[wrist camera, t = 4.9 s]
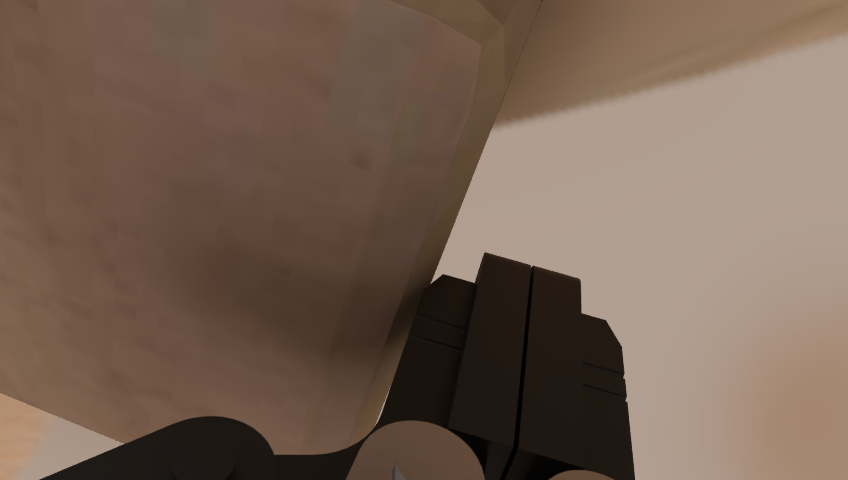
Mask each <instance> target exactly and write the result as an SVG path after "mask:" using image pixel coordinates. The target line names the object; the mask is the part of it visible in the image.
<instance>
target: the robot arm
mask: <svg viewBox="0 0 848 480" xmlns="http://www.w3.org/2000/svg"><path fill="white" fill-rule="evenodd" d="M623 376H624V364H623V354H622V346H621V345H620V343H619V341H618V340H617V338H616V336H615V335H614V333H613V331H612V330H611V328H610V326H609V325H608V323H607V321H606V320H603V319H600V318H596V317H592V316H589V315H585V314H582V313H581V281H580V279H578V278H575V277H571V276H568V275H564V274H561V273H557V272H554V271H550V270H547V269H543V268H540V267H536V266H532V267H531V266H530V265H528V264H525V263H521V262H518V261H514V260H511V259H507V258H504V257H500V256H496V255H493V254H489V253H486V252H485V253H484V256H483V258H482V261H481V264H480V268H479V271H478V274H477V277H476V281H475V283H472V282H469V281H465V280H462V279H458V278H455V277H451V276H448V275H444V274H443V275H442V276H440V277H439V278H438V279H437V280H435V281H434V282H433V283H432V284H430V285H429V286H428V287H427V288H425V289H424V290H423V292H422V295H421V298H420V301H419V304H418V307H417V310H416V313H415V317H414V319H413V322H412V325H411V328H410V331H409V334H408V338H407V340H406V343H405V346H404V349H403V352H402V355H401V358H400V361H399V364H398V367H397V370H396V373H395V376H394V378H393V381H392V384H391V387H390V390H389V394H388V396H387V399H386V402H385V405H384V408H383V411H382V414H381V416H380V419H379V421H378V423H377V424H376V425H375V427H374V428H373V430H372V431H371V432H370V433H369V434H368V435H367V436H366V437H364V438H363V439H362V440H360V441H359V442H357V443H356V444H354V445H352V446H350V447H348V448H345V449H342V450H339V451H336V452H331V453H326V454H315V455H274V453H273V450H272V448H271V447H270V445H269V443H268V441H267V440H266V439H265V438H264V437H263V436H262V435H261V434H260V433H259V432H258V431H257V430H255V429H254V428H253V427H251V426H249V425H247V424H245V423H243V422H241V421H238V420H235V419H231V418H226V417H220V416H202V417H195V418H190V419H185V420H182V421H179V422H177V423H174V424H171V425H169V426H167V427H164V428H162V429H159V430H157V431H155V432H152V433H150V434H147V435H145V436H143V437H140V438H138V439H136V440H133V441H131V442H128V443H126V444H124V445H121V446H119V447H117V448H114V449H112V450H109V451H107V452H104V453H102V454H100V455H97V456H95V457H93V458H90V459H88V460H85V461H83V462H81V463H78V464H76V465H74V466H71V467H69V468H66V469H64V470H62V471H59V472H57V473H54V474H52V475H50V476H47V477H45V478H42V479H40V480H635V473H634V464H633V453H632V443H631V434H630V424H629V414H628V404H627V402H626V401H625V400H626V397H627V394H626V384H625V379H623Z"/></svg>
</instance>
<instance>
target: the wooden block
mask: <svg viewBox="0 0 848 480" xmlns="http://www.w3.org/2000/svg"><path fill="white" fill-rule="evenodd" d="M541 1H542V0H0V393H2V394H4V395H7V396H9V397H12V398H14V399H17V400H19V401H21V402H24V403H26V404H29V405H31V406H34V407H36V408H39V409H41V410H43V411H46V412H48V413H51V414H53V415H56V416H58V417H60V418H63V419H65V420H68V421H70V422H73V423H75V424H78V425H80V426H83V427H85V428H87V429H90V430H92V431H95V432H97V433H99V434H102V435H104V436H107V437H109V438H112V439H114V440H117V441H119V442H122V443H124V444H126V443H128V442H131V441H133V440H136V439H138V438H140V437H143V436H145V435H147V434H150V433H152V432H155V431H157V430H159V429H162V428H164V427H167V426H169V425H171V424H174V423H177V422H179V421H182V420H185V419H190V418H195V417H202V416H220V417H226V418H231V419H235V420H238V421H241V422H243V423H245V424H247V425H249V426H251V427H253V428H254V429H255V430H257V431H258V432H259V433H260V434H261V435H262V436H263V437H264V438H265V439H266V440H267V441H268V443H269V445H270V447H271V448H272V450H273V453H274V455H315V454H326V453H331V452H336V451H339V450H342V449H345V448H348V447H350V446H352V445H354V444H356V443H357V442H359V441H360V440H362V439H363V438H364V437H366V436H367V435H368V434H369V433H370V432H371V431H372V430H373V428H374V427H375V424H376V422H377V419H378V416H379V414H380V412H381V409H382V406H383V404H384V401H385V399H386V396H387V394H388V391H389V388H390V386H391V383H392V381H393V378H394V376H395V373H396V370H397V367H398V364H399V361H400V358H401V355H402V352H403V349H404V346H405V343H406V340H407V338H408V334H409V331H410V328H411V325H412V322H413V319H414V317H415V313H416V310H417V307H418V304H419V301H420V298H421V295H422V292H423V290H424V289H425V288H427V287H428V286H429V285H430V284H431V281H432V279H433V276H434V274H435V271H436V269H437V266H438V264H439V261H440V258H441V256H442V253H443V251H444V248H445V246H446V243H447V241H448V238H449V236H450V233H451V230H452V228H453V225H454V223H455V220H456V218H457V215H458V212H459V210H460V208H461V205H462V202H463V200H464V197H465V195H466V192H467V190H468V187H469V185H470V182H471V180H472V177H473V174H474V172H475V169H476V167H477V164H478V162H479V159H480V157H481V154H482V152H483V149H484V146H485V144H486V141H487V139H488V136H489V134H490V131H491V129H492V126H493V123H494V121H495V118H496V116H497V113H498V111H499V108H500V106H501V103H502V100H503V98H504V95H505V93H506V90H507V88H508V85H509V82H510V80H511V77H512V75H513V72H514V70H515V67H516V65H517V62H518V59H519V57H520V54H521V52H522V49H523V47H524V44H525V42H526V39H527V36H528V34H529V31H530V29H531V26H532V24H533V21H534V19H535V16H536V13H537V11H538V8H539V6H540V3H541Z"/></svg>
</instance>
